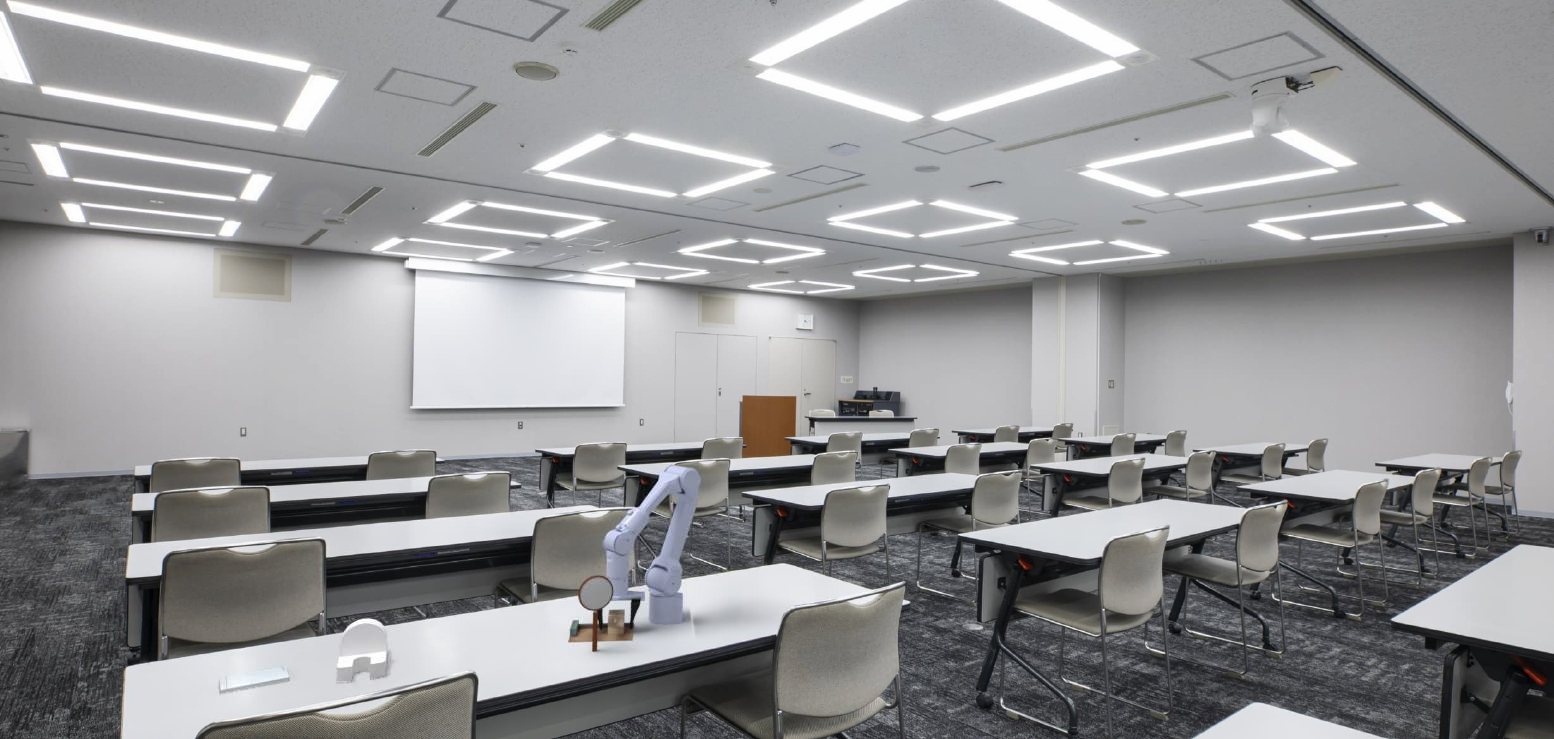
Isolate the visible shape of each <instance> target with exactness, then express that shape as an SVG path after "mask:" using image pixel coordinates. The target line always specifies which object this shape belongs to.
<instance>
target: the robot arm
mask: <svg viewBox="0 0 1554 739" xmlns="http://www.w3.org/2000/svg"><path fill="white" fill-rule="evenodd" d="M700 476H701V475H700V474H699V472H698V471H697V470H696V468H695V467H686V466H680V465H676V464H669V465H667V466H666V467H665V468H664V470H663V471H662V472H661V473H659V476H658V481H657V482H656V483H655V485H653V488H651V490H650V491H649V493H647V494H648V495H647V496H646V497H645V499H643V501H642V502H641V504H640V505H639V506H638V507H633V508H631V509H629V510H628V511H627V512H626V515H625V516H624V518H623V519H622V520H621V521H620V523H619V524H617V525H616V526H615V528H614V529H612V530H609V531H608V532H607V534H606V535H605V536H604V539H603V540H602V546H603V549H604V550H605V555H606V570H605V571H606V575H605V577H606V578H608V579H609V580H610V581H611V583H612V585H613V597H612V599H611V601H610V602H617V601H618V602H619V601H624V602H625V601H630V619H629V623H630V629H632V626H633V622H634V621H635V618H636V615H637V613H638V610H639V609H640V606H641V602H645V600H646V592H645V591H639V590H638V591H637V590H629V567H630V566H629V563H630V552H631V551H632V550H633V549H634V546H635V542H636V539H637V537H638V536H639V534H640V533H641V532H642V531H643V530H644V528H646V526H647V524H649V522H650V514H651V513H652V512H653V511H654V510H655V509H656V508H657V507H658V506H659V505H660V504H661V502H662V501H664V499H666V497H667V496H668V495H672V494H674V497H675V498H676V500H677V502H676V505H675V508H674V512H673V515H672V518H671V520H670V524H669V527H668V531H667V532H666V537H665V539H664V542H663V545H662V548H661V550H660V554H659V555H658V556H657V557H655V558H654V559H653V560H652V563H650V564H651V565H650V566H649V568H648V569H647V570H646V572H645V575H644V584H645V585H646V587H648V592H649V596H648V597H649V598H648V599H649V600H648V602H649V604H648V621H649V623H651V624H653V625H669V624H683V621H684V612H683V607H684V606H683V603H684V594H683V592H679V591H680V588H681V586H682V575H683V571H684V570H683V567H682V565H681V562H680V559H681V556H682V553H683V549H684V546H685V542H686V540H687V537H688V534H689V530H690V528H691V525H692V521H693V517H694V515H695V512H696V508H697V506H698V503H699V488H700V485H701V482H702V478H701V477H700ZM597 612H598V623H599V628H600V630H602V629H603V623H604V616H603V612H604V608H603V609H601V610H597Z"/></svg>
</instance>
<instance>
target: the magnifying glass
mask: <svg viewBox="0 0 1554 739" xmlns="http://www.w3.org/2000/svg"><path fill="white" fill-rule="evenodd" d="M577 593H578V594H577V595H578V596H577V597H578V601H579V603H580V605H581V607H583V608H584V609H585V610H587V611H591V612H592V623H593V634H592V642H591V643H592V644H591V651H592V653H593V652H594V653H596V652H598V642H597V633H598V623H599V622H598V612H597V610H601V609H603V610H604V608H606V607H607V606H608V605H609V604H610V603H611V602H612V601H611V599H612V597H613V585H612V583H611V581H610V580H609V579H608V578H606V576H603V575H601V574H599V575H598V574H597V575H592V576H589V577H588V578H586V579H585V580H584V581H583V582H582V583H581V585H580V586H579V589H578V592H577Z"/></svg>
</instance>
